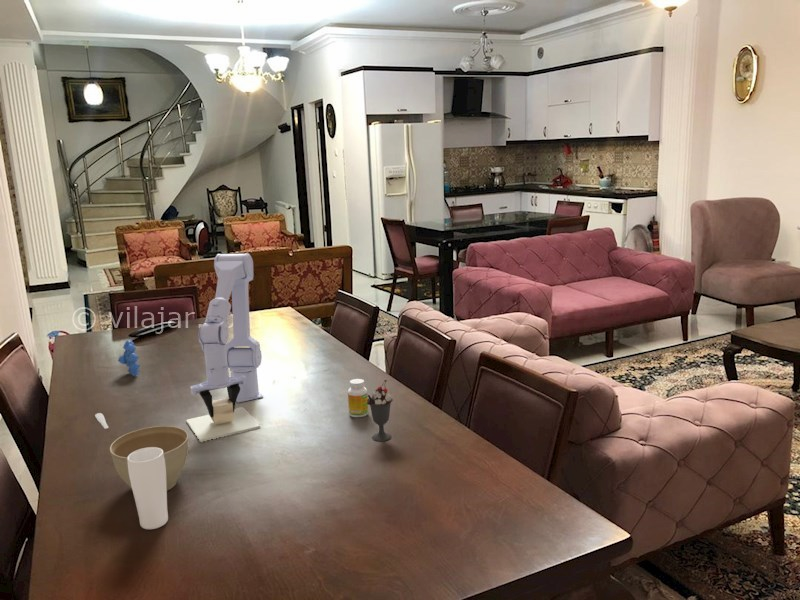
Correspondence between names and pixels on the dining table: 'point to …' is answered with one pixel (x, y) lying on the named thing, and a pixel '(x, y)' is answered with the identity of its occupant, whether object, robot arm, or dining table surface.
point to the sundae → (380, 411)
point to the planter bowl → (160, 437)
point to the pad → (222, 425)
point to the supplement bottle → (357, 398)
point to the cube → (222, 411)
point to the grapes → (130, 358)
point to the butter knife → (101, 420)
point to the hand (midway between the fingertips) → (221, 413)
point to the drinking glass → (149, 486)
